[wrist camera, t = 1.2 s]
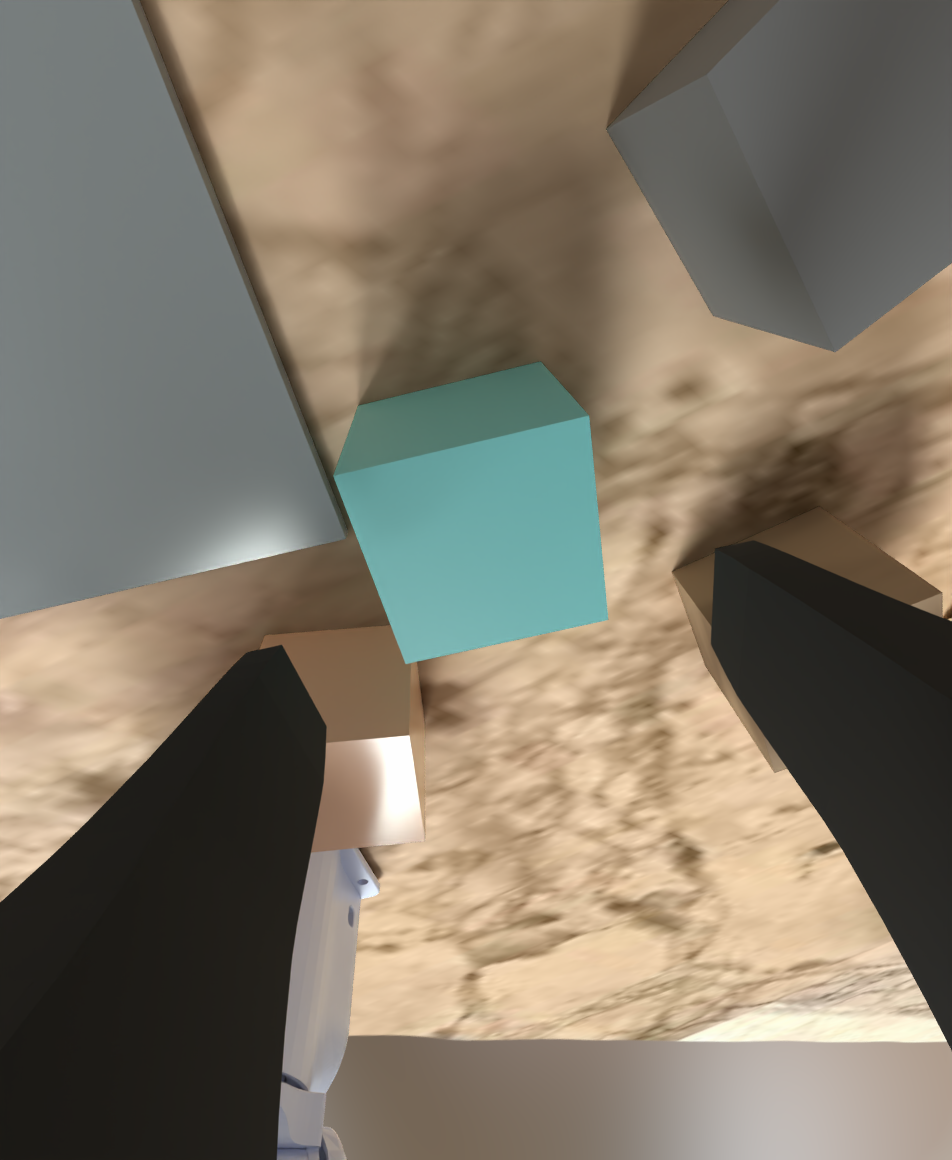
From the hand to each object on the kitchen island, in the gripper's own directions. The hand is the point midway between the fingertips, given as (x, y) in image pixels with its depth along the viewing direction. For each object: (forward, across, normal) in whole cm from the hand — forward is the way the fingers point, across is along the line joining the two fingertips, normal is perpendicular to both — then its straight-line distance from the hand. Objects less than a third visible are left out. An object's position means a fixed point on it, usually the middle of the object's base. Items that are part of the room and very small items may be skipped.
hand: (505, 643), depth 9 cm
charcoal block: (+8, -8, -6) cm, 13 cm away
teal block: (+8, 0, 0) cm, 8 cm away
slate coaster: (+8, +10, -5) cm, 14 cm away
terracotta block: (+8, +6, +7) cm, 12 cm away
